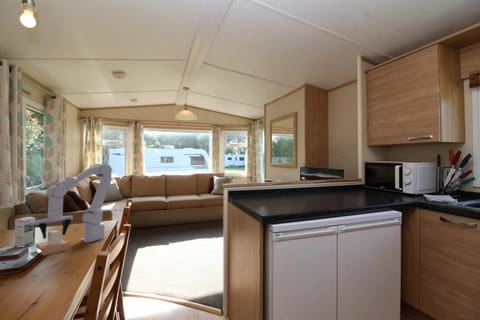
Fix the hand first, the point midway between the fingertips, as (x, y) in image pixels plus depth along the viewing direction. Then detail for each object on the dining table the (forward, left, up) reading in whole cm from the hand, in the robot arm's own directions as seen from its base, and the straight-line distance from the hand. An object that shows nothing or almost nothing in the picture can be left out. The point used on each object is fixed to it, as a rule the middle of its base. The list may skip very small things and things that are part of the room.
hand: (54, 236), depth 112 cm
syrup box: (+8, -19, -7) cm, 22 cm away
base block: (+1, -1, -7) cm, 7 cm away
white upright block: (0, +1, -3) cm, 3 cm away
